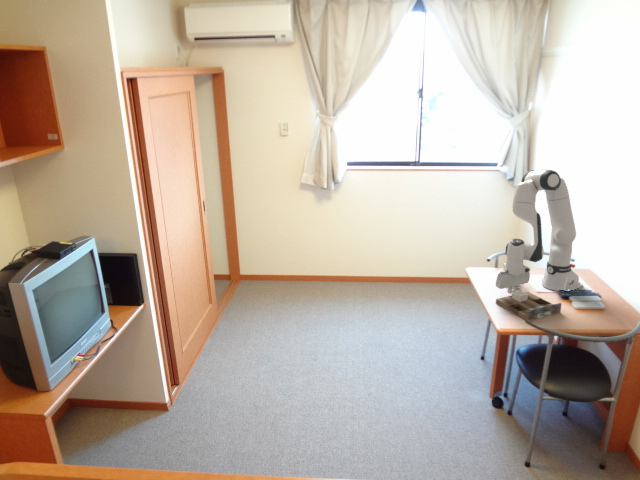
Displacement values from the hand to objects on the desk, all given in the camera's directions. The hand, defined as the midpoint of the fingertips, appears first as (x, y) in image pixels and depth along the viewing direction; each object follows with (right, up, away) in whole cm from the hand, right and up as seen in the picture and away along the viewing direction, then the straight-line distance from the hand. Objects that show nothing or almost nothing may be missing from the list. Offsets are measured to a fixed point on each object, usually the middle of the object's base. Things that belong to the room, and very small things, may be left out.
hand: (511, 292), depth 258 cm
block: (+2, -3, -5) cm, 6 cm away
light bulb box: (+8, +3, +22) cm, 23 cm away
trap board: (+5, -7, -9) cm, 13 cm away
